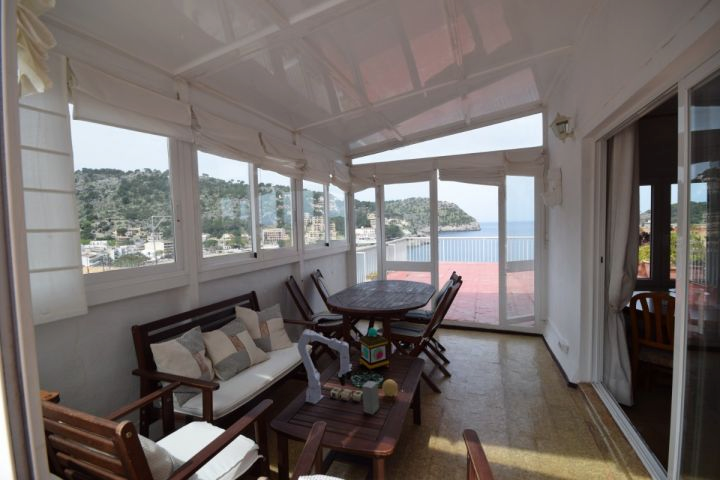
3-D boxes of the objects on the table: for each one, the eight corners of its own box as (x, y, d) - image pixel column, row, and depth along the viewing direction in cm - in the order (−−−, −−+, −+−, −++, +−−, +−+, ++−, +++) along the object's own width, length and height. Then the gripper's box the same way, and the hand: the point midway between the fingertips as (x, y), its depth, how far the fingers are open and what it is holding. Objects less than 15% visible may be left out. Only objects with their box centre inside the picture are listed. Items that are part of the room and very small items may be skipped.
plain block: (348, 400, 198) (347, 394, 198) (341, 398, 200) (341, 392, 200) (352, 396, 202) (351, 390, 202) (345, 394, 205) (345, 389, 204)
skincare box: (373, 415, 182) (371, 388, 181) (362, 412, 185) (361, 386, 184) (379, 407, 189) (378, 382, 188) (369, 404, 193) (368, 379, 192)
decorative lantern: (356, 364, 247) (355, 326, 245) (378, 358, 256) (376, 321, 254) (369, 374, 229) (367, 334, 227) (392, 367, 239) (390, 329, 237)
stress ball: (390, 402, 196) (402, 390, 196) (379, 390, 196) (391, 378, 197) (389, 396, 206) (400, 385, 206) (378, 384, 206) (389, 373, 207)
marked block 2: (360, 402, 196) (359, 395, 196) (352, 400, 198) (352, 393, 198) (363, 397, 200) (363, 391, 200) (356, 396, 203) (356, 390, 203)
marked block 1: (337, 398, 201) (336, 392, 200) (330, 397, 203) (330, 391, 203) (341, 394, 205) (341, 388, 205) (335, 393, 207) (334, 387, 207)
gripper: (344, 368, 192) (345, 389, 193) (355, 358, 205) (356, 378, 206) (334, 366, 195) (335, 387, 196) (346, 356, 208) (347, 376, 209)
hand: (345, 382), depth 201 cm, fingers open, 7 cm apart
